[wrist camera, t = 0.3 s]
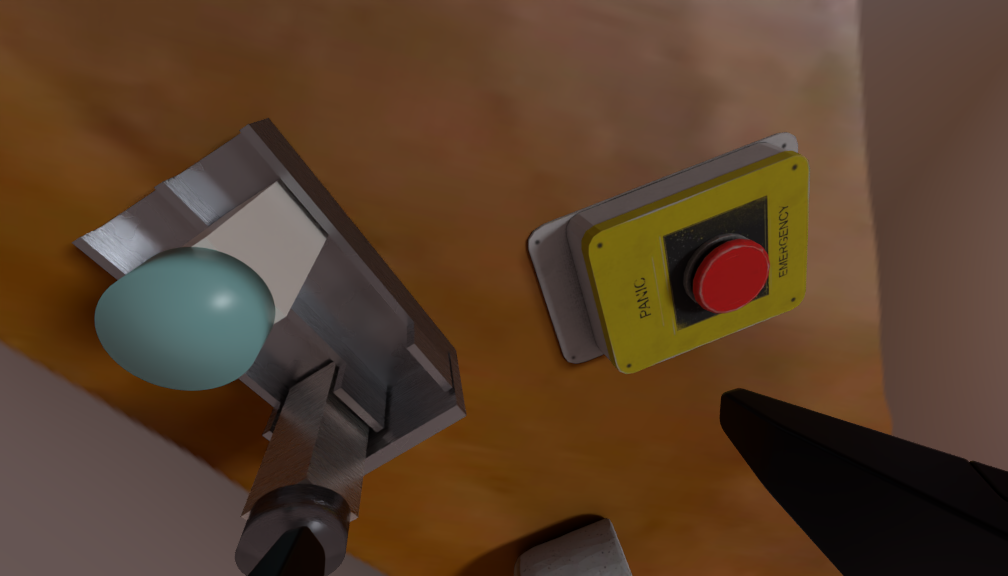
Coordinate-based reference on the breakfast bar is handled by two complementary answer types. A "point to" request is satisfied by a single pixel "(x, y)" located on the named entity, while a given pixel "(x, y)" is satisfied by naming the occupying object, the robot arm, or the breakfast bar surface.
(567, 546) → the ceramic mug
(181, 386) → the plunger
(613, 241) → the emergency button
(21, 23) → the breakfast bar surface
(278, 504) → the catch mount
